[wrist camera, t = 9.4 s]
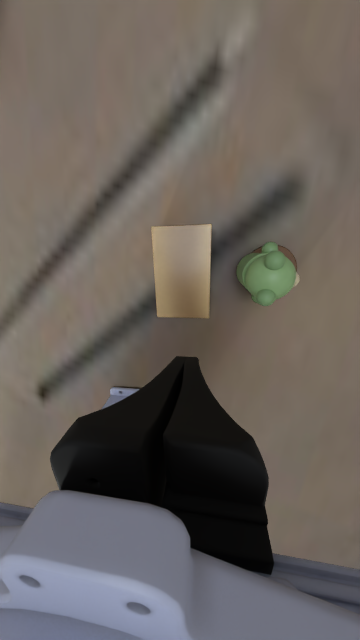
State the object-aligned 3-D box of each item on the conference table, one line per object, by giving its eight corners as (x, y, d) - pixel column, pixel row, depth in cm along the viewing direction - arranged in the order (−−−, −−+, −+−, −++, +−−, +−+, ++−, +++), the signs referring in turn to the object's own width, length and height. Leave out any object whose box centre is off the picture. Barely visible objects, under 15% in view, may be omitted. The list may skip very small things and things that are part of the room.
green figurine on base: (202, 294, 18) (265, 320, 12) (209, 237, 16) (286, 237, 11) (261, 292, 22) (328, 310, 16) (272, 245, 20) (351, 248, 15)
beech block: (163, 308, 22) (157, 317, 19) (159, 230, 19) (151, 226, 16) (209, 309, 21) (209, 318, 18) (211, 228, 18) (211, 223, 16)
